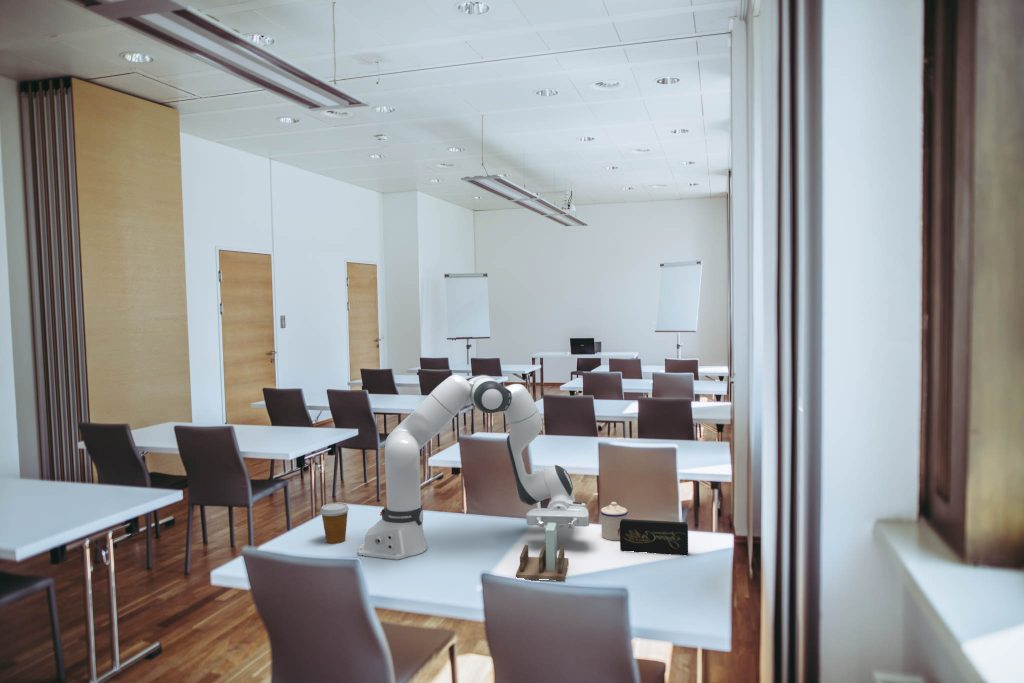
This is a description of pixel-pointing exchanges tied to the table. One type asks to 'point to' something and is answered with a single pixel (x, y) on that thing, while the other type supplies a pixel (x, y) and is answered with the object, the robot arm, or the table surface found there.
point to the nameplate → (654, 536)
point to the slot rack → (541, 566)
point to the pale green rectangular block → (551, 546)
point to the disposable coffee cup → (335, 521)
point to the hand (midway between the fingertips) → (555, 525)
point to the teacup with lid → (612, 520)
